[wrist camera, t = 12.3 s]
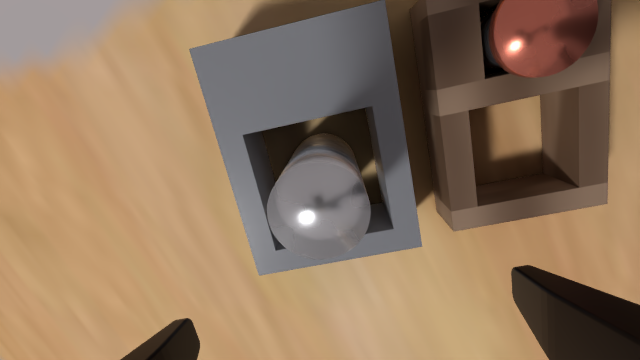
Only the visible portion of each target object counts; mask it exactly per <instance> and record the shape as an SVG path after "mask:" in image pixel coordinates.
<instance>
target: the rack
mask: <svg viewBox="0 0 640 360" xmlns="http://www.w3.org/2000/svg"><path fill="white" fill-rule="evenodd" d="M189 50H190V54H191V57H192V60H193V63H194V67H195V70H196V73H197V76H198V80H199V83H200V86H201V89H202V93H203V96H204V99H205V102H206V105H207V109H208V112H209V115H210V118H211V122H212V125H213V128H214V131H215V135H216V138H217V141H218V144H219V148H220V151H221V154H222V157H223V161H224V164H225V167H226V170H227V173H228V177H229V180H230V183H231V186H232V190H233V193H234V196H235V199H236V203H237V206H238V209H239V212H240V216H241V219H242V222H243V225H244V228H245V232H246V235H247V238H248V241H249V245H250V248H251V251H252V254H253V258H254V261H255V264H256V267H257V271H258V274H259V275H265V274H271V273H276V272H282V271H288V270H293V269H299V268H304V267H310V266H316V265H321V264H327V263H333V262H338V261H344V260H349V259H355V258H361V257H366V256H372V255H378V254H383V253H389V252H394V251H400V250H406V249H411V248H417V247H422V242H421V235H420V229H419V222H418V216H417V209H416V202H415V196H414V189H413V182H412V176H411V169H410V163H409V156H408V149H407V143H406V136H405V129H404V123H403V116H402V109H401V103H400V96H399V90H398V83H397V76H396V70H395V63H394V56H393V50H392V43H391V36H390V30H389V23H388V17H387V10H386V3H385V0H381V1H377V2H373V3H369V4H365V5H361V6H357V7H353V8H349V9H345V10H341V11H337V12H333V13H329V14H325V15H321V16H317V17H314V18H310V19H306V20H302V21H298V22H294V23H290V24H286V25H282V26H278V27H274V28H270V29H266V30H262V31H258V32H254V33H250V34H247V35H243V36H239V37H235V38H231V39H227V40H223V41H219V42H215V43H211V44H207V45H203V46H199V47H195V48H191V49H189ZM361 108H365V109H366V115H367V121H368V126H369V132H370V137H371V143H372V148H373V154H374V159H375V165H376V170H377V176H378V182H379V187H380V193H381V198H382V203H378V204H373V205H370V209H371V215H370V222H369V225H368V229H367V231H366V233H365V235H364V236H363V238H362V239H361V240H360V242H359V243H358V244H357V245H356V246H355V247H354V248H352V249H351V250H350V251H348V252H346V253H345V254H343V255H340V256H338V257H335V258H330V259H323V260H316V259H309V258H305V257H302V256H299V255H297V254H295V253H293V252H291V251H289V250H288V249H286V248H285V247H284V246H283V245H282V244H281V243H280V242H279V241H278V240H277V238H276V237H275V236H274V234H273V232H272V230H271V228H270V225H269V222H268V217H267V203H268V199H269V196H270V193H271V191H272V189H273V187H274V185H275V183H276V182H275V179H274V175H273V171H272V167H271V164H270V160H269V156H268V153H267V149H266V145H265V141H264V138H263V134H262V131H263V130H267V129H272V128H276V127H281V126H285V125H290V124H294V123H299V122H303V121H308V120H312V119H317V118H321V117H326V116H330V115H335V114H339V113H343V112H348V111H352V110H357V109H361Z"/></svg>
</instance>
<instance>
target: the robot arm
mask: <svg viewBox="0 0 640 360" xmlns="http://www.w3.org/2000/svg"><path fill="white" fill-rule="evenodd" d="M511 276H512V294H513V298H514V301H515V303H516V305H517V307H518V309H519V310H520V312H521V314H522V315H523V317H524V319H525V320H526V322H527V324H528V325H529V327H530V329H531V331H532V332H533V334H534V336H535V337H536V339H537V341H538V342H539V344H540V346H541V347H542V349H543V351H544V352H545V354H546V355H547V357H548V359H549V360H640V305H638V304H636V303H633V302H630V301H627V300H625V299H622V298H619V297H616V296H613V295H611V294H608V293H605V292H602V291H600V290H597V289H594V288H591V287H588V286H586V285H583V284H580V283H577V282H575V281H572V280H569V279H566V278H564V277H561V276H558V275H555V274H552V273H550V272H547V271H544V270H541V269H539V268H536V267H533V266H530V265H525V266H519V267H514V268H513V269H512V272H511ZM199 350H200V341H199V338H198V335H197V333H196V330H195V327H194V325H193V322H192V321H191V319H189V318H185V319H179V320H175V321H173V322H172V323H171V324H169V325H168V326H166V327H165V328H164V329H162V330H161V331H159V332H158V333H157V334H155V335H154V336H153V337H151V338H150V339H148V340H147V341H146V342H144V343H143V344H141V345H140V346H139V347H137V348H136V349H135V350H133V351H132V352H130V353H129V354H128V355H126V356H125V357H123V358H122V359H121V360H197V357H198V354H199Z"/></svg>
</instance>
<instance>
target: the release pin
mask: <svg viewBox="0 0 640 360" xmlns="http://www.w3.org/2000/svg"><path fill="white" fill-rule="evenodd" d="M597 23H598V4H597V0H500V2H499V3H498V5H497V7H496V9H495V11H494V12H491V13H489V14H487V15H486V16H484V17H483V18H482V19H480V25H481V38H482V50H483V62H484V67H487V68H500V67H502V68H503V69H504V70H505V71H507V72H508V73H510V74H512V75H515V76H518V77H524V78H536V77H546V76H550V75H554V74H556V73H559V72H561V71H563V70H565V69H566V68H568V67H569V66H571V65H572V64H573V63H574V62H576V61H577V60H578V59H579V58H580V57H581V56H582V54H583V53H584V52H585V50H586V49H587V48H588V46H589V44H590V43H591V41H592V39H593V36H594V34H595V31H596V28H597Z"/></svg>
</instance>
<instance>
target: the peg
mask: <svg viewBox="0 0 640 360" xmlns="http://www.w3.org/2000/svg"><path fill="white" fill-rule="evenodd" d="M370 215H371V209H370V202H369V198H368V195H367V192H366V189H365V186H364V183H363V180H362V177H361V174H360V170H359V167H358V164H357V161H356V158H355V155H354V153H353V151H352V149H351V147H350V146H349V145H348V144H347V143H346V142H345V141H344V140H343V139H341V138H340V137H338V136H335V135H332V134H326V133H324V134H316V135H313V136H310V137H308V138H307V139H305V140H304V141H303V142H301V144H300V145H299V146H298V147H297V149H296V150H295V152H294V154H293V155H292V157H291V159H290V160H289V162H288V164H287V165H286V167H285V169H284V170H283V172H282V174H281V175H280V177H279V179H278V180H277V182H276V183H275V185H274V187H273V189H272V191H271V193H270V196H269V199H268V203H267V217H268V222H269V225H270V228H271V230H272V232H273V234H274V236H275V237H276V238H277V240H278V241H279V242H280V243H281V244H282V245H283V246H284V247H285V248H286V249H288V250H289V251H291V252H293V253H295V254H297V255H299V256H302V257H305V258H309V259H316V260H323V259H330V258H335V257H338V256H340V255H343V254H345V253H346V252H348V251H350V250H351V249H352V248H354V247H355V246H356V245H357V244H358V243H359V242H360V240H361V239H362V238H363V236H364V235H365V233H366V231H367V229H368V225H369V222H370Z"/></svg>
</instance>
